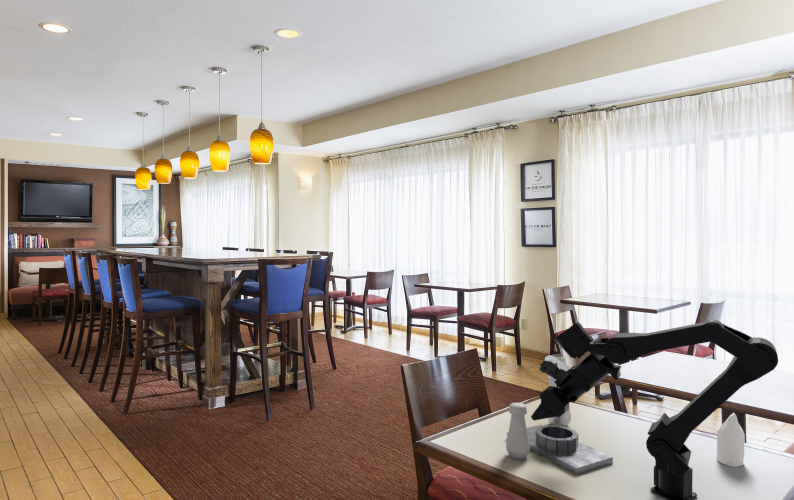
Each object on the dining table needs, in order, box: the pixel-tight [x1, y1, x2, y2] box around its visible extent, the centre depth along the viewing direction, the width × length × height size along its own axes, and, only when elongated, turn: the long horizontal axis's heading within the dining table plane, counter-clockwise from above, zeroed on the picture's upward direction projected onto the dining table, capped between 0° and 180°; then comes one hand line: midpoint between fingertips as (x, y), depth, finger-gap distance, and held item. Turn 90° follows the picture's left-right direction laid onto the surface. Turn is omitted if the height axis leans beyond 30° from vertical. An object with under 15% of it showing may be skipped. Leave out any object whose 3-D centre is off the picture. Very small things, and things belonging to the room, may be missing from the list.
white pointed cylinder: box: [716, 412, 746, 468], centre depth 122 cm, size 6×12×6 cm
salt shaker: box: [505, 402, 530, 461], centre depth 127 cm, size 6×6×13 cm
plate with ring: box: [506, 424, 614, 475], centre depth 130 cm, size 24×12×4 cm, turn 28°
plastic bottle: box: [547, 354, 572, 427], centre depth 146 cm, size 6×7×20 cm
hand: (538, 412), depth 123 cm, fingers open, 9 cm apart
